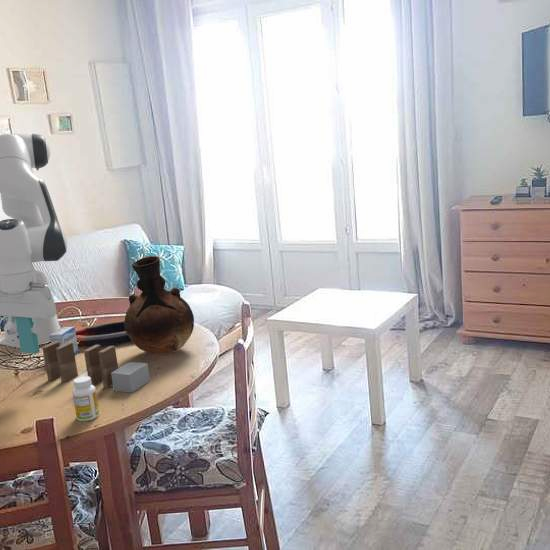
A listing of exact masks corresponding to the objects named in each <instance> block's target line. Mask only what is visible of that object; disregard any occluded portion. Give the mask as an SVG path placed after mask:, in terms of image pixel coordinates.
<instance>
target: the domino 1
mask: <svg viewBox="0 0 550 550" xmlns="http://www.w3.org/2000/svg"><path fill="white" fill-rule="evenodd" d="M15 319H16V325H17V330H18V336H19V342H20V347H21V349H20V352H21V353H22V354H31V355H37V354H39V353H40V346H39V344H38V339H37V334H33V333H31V327H33V324H34V322H32V318H24V317H15Z"/></svg>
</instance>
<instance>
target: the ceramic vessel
mask: <svg viewBox="0 0 550 550" xmlns="http://www.w3.org/2000/svg"><path fill="white" fill-rule="evenodd" d="M160 259H161V258H160V257H159V256H158V255H150V256H144V257H141V258H139V259H138V260H136V261H134V262H132V264H131V267H132V269H133V270H134V272H135V273H136V274H137V277H138V278H139V279H138V280H137V282H136V287H137V289H138V290H140V291H141V293H140V295H136V294H134V293H133V294H129V296H128V301H129V307H128V309H127V310H126V312H125V316H124V320H123V321H124V327H125V330H126V333H127V335H128V336H129V338H130V339H131V340H132V341H131V342H132V343H133V345H135V347H137V348H138V349H139V350H141V351H142V352H146V353H147V354H151V355H165V354H170V353H173V352H177V351H178V352H179V351H180V349H182V348H183V346H184V345H185V344H186V343H187V342H188V341H189V339H190V338H191V335H192V333H193V331H194V328H195V317H194V313H193V310H192V308H191V307H190V304H189V303H188V302H187V301H186V300H185V299H184V298H182V297H181V293H180V290H179V288H177V287H173V288H172V289H170V290H168V289H165V285H166V280H165V278H164V277H163V276H162V275H161V260H160Z"/></svg>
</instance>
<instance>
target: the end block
mask: <svg viewBox="0 0 550 550" xmlns="http://www.w3.org/2000/svg"><path fill="white" fill-rule="evenodd" d="M111 376H112V383H113V385H112V387H113V389H112V390H113V391H115V392H121V393H122V392H123V393H133V392H136V391H137V390H138V389H140V388H141V387H143V386H144V385H147V383H150V382H151V380H150V372H149V365H148V363H144V362H142V363H141V362H132V361H130V362H127V363H126V364H124V365H122V366H120V367H118V369H117V370H115V371H113V372H112V373H111ZM142 385H143V386H142Z"/></svg>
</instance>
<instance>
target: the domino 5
mask: <svg viewBox="0 0 550 550" xmlns="http://www.w3.org/2000/svg"><path fill="white" fill-rule="evenodd" d="M98 353H99V360H100V366H101V373H102V379H103V381H102V385H103V388H110V387H111V386H113V383H112V376H111V373H112V372H113V371H115V370H117V369H119V365H118V358H117V357H118V356H117V352H116V346H114V345H108V347H105V348H103V349H101V351H99V352H98Z"/></svg>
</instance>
